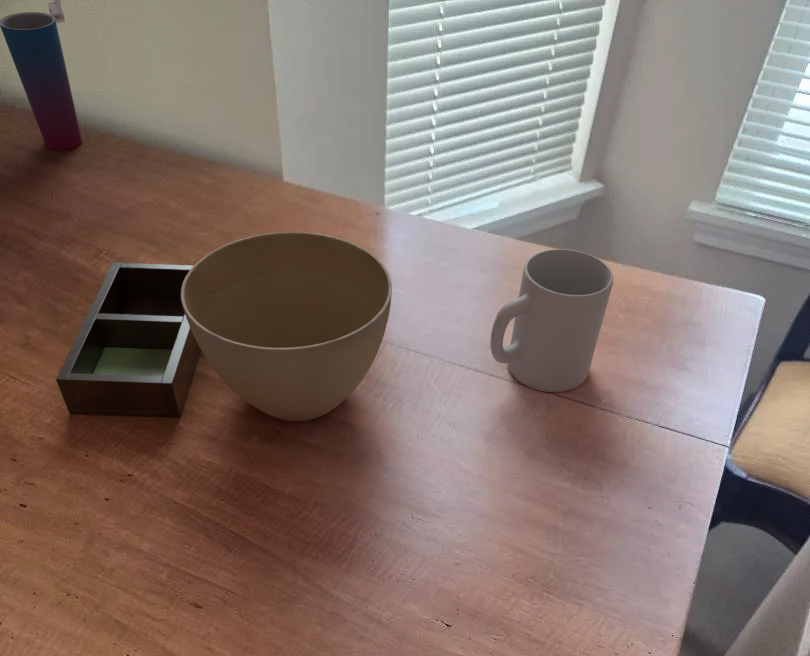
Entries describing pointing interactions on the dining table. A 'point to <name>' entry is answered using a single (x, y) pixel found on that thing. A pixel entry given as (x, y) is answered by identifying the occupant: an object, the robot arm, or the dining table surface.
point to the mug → (554, 320)
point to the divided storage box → (132, 346)
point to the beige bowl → (289, 319)
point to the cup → (43, 76)
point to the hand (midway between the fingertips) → (23, 24)
